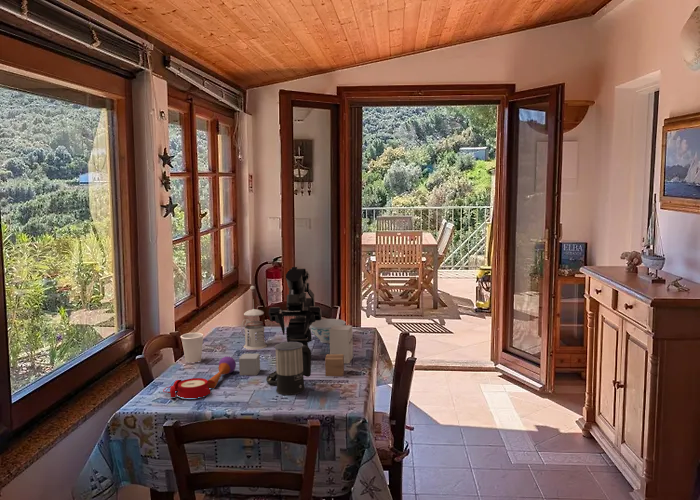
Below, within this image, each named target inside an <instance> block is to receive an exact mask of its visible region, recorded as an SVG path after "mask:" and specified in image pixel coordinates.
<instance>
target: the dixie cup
mask: <svg viewBox="0 0 700 500" xmlns="http://www.w3.org/2000/svg"><path fill="white" fill-rule="evenodd" d="M180 339H181V342H182V344H181V345H182V348H183V355H184V359H185V362H186V361H187V362H198V361H200V362H202V354H203V343H204V342H203V339H204V334H203V333H201V332H188V333H183V334H182V335H180ZM198 363H199V362H198Z"/></svg>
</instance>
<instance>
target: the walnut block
mask: <svg viewBox="0 0 700 500" xmlns="http://www.w3.org/2000/svg"><path fill="white" fill-rule="evenodd" d="M324 365H325V367H324V369H325V377H343V376H344V374H345V363H344V354H330V353H329V354H326V355H325V358H324Z"/></svg>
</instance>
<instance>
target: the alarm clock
mask: <svg viewBox="0 0 700 500" xmlns="http://www.w3.org/2000/svg"><path fill="white" fill-rule="evenodd" d="M213 382H214V381H213ZM208 383H212V382H208V379H206V378H203V377H193V378H187V379H184V380H181V379H177V380H175V381H174V382H173V385H171V386H170V385H169V386H166V387H165V388H164V389H162V390H163V393H166V391H165V390H166V389H168V388H170V389H169V391H167V393H168V394H170V398H171V397H176V398H177V395H178V396H180V397H184V398H198V397H203V396H206V395H208V394H209V395H211V394H210V393H211V389H209V387H208ZM175 391H178V392H177V393H175ZM209 395H208V396H209ZM206 397H207V396H206ZM203 398H204V397H203Z"/></svg>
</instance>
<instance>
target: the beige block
mask: <svg viewBox="0 0 700 500" xmlns="http://www.w3.org/2000/svg"><path fill="white" fill-rule="evenodd" d="M260 358H261V354H260V353H242V354H241V355H240V356H239V359H238V362H239V363H238V367H239V376H258V374H259V373H260V371H261V359H260Z"/></svg>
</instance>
